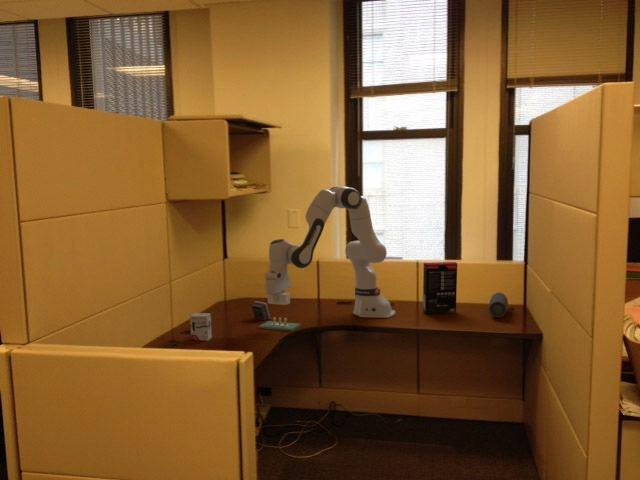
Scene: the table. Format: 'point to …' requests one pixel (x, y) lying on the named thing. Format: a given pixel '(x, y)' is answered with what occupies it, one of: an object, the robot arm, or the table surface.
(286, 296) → the block
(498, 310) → the bluetooth speaker
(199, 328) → the ink box
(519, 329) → the table surface
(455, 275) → the graphics card box
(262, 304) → the electrical switch
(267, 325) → the header board
